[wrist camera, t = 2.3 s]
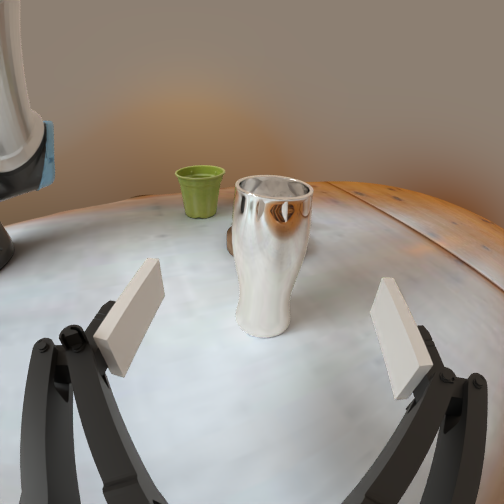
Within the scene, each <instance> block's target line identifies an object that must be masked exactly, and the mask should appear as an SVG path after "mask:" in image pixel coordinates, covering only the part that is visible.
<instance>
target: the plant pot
mask: <svg viewBox="0 0 504 504" xmlns="http://www.w3.org/2000/svg"><path fill="white" fill-rule="evenodd" d="M224 174H225V170H224V169H222V168H220V167H216V166H203V165H201V166H190V167H185V168H181V169H179V170H177V171H176V172H175V175H176V176H177V177H178V181H179V183H180V186H181V191H182V197H183V202H184V208H185V213H186V215H187V216H189V217H191V218H197V217H201V218H208V217H211V216H213V215H215V213H216V209H217V202H218V195H219V188H220V182H221V181H222V177H223V175H224Z"/></svg>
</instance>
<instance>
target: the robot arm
mask: <svg viewBox="0 0 504 504" xmlns="http://www.w3.org/2000/svg"><path fill="white" fill-rule="evenodd" d="M21 46H22V45H21V29H20V0H0V202H1V201H4V200H7V199H10V198H13V197H15V196H18V195H21V194H24V193H28V192H31V191H34V190H36V191H38V190H40V189H41V188H43V187H46V186H49V185H50V184H52V183H53V181H54V179H55V164H54V129H53V122H52V121H43V120H42V118H41V116H40V115H39V114H38V113H37V112H35V111H33V110H31V107H30V102H29V97H28V92H27V86H26V80H25V73H24V65H23V56H22V47H21ZM13 253H14V246H13V243H12V240H11V238H10V236H9V234H8V233H7V231H6V230H5V228H4V227H3V225H2V224H1V222H0V269H1V268H2V267H3V266H4V265H5V264H6V263H7V262H8V261H9V260H10V258H11V257H12V255H13ZM164 297H165V293H164V288H163V282H162V276H161V269H160V263H159V259H153V258H147V259H146V261H145V262H144V263H143V265H142V266H141V267H140V269H139V270H138V271H137V273H136V274H135V275H134V277H133V278H132V280H131V281H130V282H129V284H128V285H127V287H126V288H125V289H124V291H123V292H122V294H121V295H120V297H119V298H118V300H117V301H109V302H107V303H106V304H104V305H103V306H102V307H101V309H100V310H99V312H98V314H97V315H96V316H95V317H94V319H93V320H92V322H91V323H90V325H89V326H88V328H87V329H86V331H85V332H84V331H83V329H82V327H80V326H79V325H70V326H68V327H66V328H64V329H63V330H62V331H61V333H60V335H59V340H60V341H61V343H62V345H54V343H53V341H52V340H51V339H49V338H43V339H40V340H39V341H37V342H36V343H35V344H34V347H33V350H32V355H31V359H30V364H29V370H28V375H27V381H26V388H25V395H24V403H23V412H22V424H21V443H20V470H21V488H22V493H21V497H20V502H19V504H81V502H80V495H79V489H78V482H77V474H76V465H75V454H74V438H73V392H74V396H75V400H76V404H77V408H78V412H79V415H80V419H81V422H82V426H83V429H84V432H85V436H86V439H87V442H88V445H89V448H90V450H91V453H92V456H93V459H94V461H95V464H96V466H97V469H98V471H99V474H100V476H101V479H102V481H103V484H104V486H103V489H102V490H103V494H104V497H105V499H106V501H107V503H108V504H168V503H167V501H166V500H165V498H164V497H163V496H162V495H161V493H160V492H159V491H158V489H157V488H156V486H155V485H154V483H153V481H152V479H151V477H150V476H149V474H148V472H147V470H146V468H145V466H144V464H143V462H142V460H141V458H140V456H139V454H138V452H137V450H136V448H135V446H134V444H133V442H132V440H131V437H130V435H129V433H128V431H127V428H126V426H125V424H124V421H123V419H122V417H121V414H120V412H119V409H118V406H117V404H116V401H115V399H114V396H113V393H112V390H111V387H110V385H109V382H108V379H107V376H106V374H105V371H106V369H107V368H109V370H110V372H111V374H114V375H117V376H121V377H125V375H126V373H127V371H128V369H129V367H130V364H131V362H132V360H133V358H134V356H135V354H136V352H137V350H138V348H139V346H140V344H141V342H142V340H143V338H144V336H145V334H146V332H147V330H148V328H149V326H150V324H151V322H152V320H153V318H154V316H155V314H156V312H157V310H158V308H159V306H160V304H161V302H162V300H163V299H164ZM370 315H371V318H372V321H373V324H374V327H375V331H376V334H377V337H378V340H379V344H380V347H381V350H382V354H383V357H384V361H385V364H386V368H387V372H388V375H389V379H390V383H391V387H392V391H393V395H394V399H395V400H401V399H408V398H409V396H410V395H411V394H412V393H413V394H414V397H415V398H414V400H413V401H412V402H411V403H410V404H409V405H408V407H407V408H406V410H407V409H408V410H407V411H406V413H405V415H404V417H403V419H402V420H401V422H400V424H399V425H398V427H397V429H396V430H395V432H394V434H393V435H392V437H391V438H390V440H389V442H388V443H387V445H386V446H385V448H384V449H383V451H382V452H381V454H380V455H379V456H378V458H377V459H376V461H375V462H374V464H373V465H372V466H371V468H370V469H369V470H368V472H367V473H366V474H365V476H364V477H363V478H362V480H361V481H360V482H359V483H358V485H357V486H356V487H355V488H354V490H353V491H352V492H351V493H350V494H349V496H348V497H347V498H346V499H345V500H344V501H343V502H342V504H397V503H398V502H399V500H400V499H401V497H402V496H403V494H404V493H405V491H406V490H407V488H408V486H409V485H410V483H411V482H412V480H413V478H414V476H415V475H416V473H417V471H418V469H419V468H420V466H421V464H422V462H423V460H424V458H425V456H426V454H427V452H428V451H429V449H430V446H431V444H432V442H433V440H434V438H435V436H436V434H437V431H438V429H439V427H440V429H439V434H438V439H437V444H436V449H435V453H434V458H433V462H432V466H431V469H430V473H429V477H428V480H427V483H426V487H425V490H424V493H423V496H422V499H421V502H420V504H475V502H476V498H477V494H478V489H479V485H480V479H481V474H482V468H483V461H484V453H485V444H486V432H487V409H488V393H487V382H486V380H485V378H484V377H483V376H482V375H480V374H478V373H473V374H471V375H470V376H469V378H468V379H464V378H459V377H456V375H455V374H454V372H453V371H452V370H451V369H449V368H446V367H444V365H443V363H442V360H441V358H440V356H439V353H438V351H437V349H436V347H435V344H434V342H433V341H432V338H431V335H430V333H429V332H428V331H427V329H426V328H425V327H424V326H423V325H422V326H417V325H416V323H415V321H414V319H413V316H412V314H411V312H410V310H409V308H408V306H407V304H406V302H405V300H404V298H403V296H402V294H401V292H400V290H399V288H398V286H397V284H396V282H395V280H394V278H388V277H382V279H381V282H380V285H379V288H378V291H377V294H376V297H375V299H374V302H373V305H372V308H371V310H370Z"/></svg>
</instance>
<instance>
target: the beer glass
mask: <svg viewBox="0 0 504 504" xmlns="http://www.w3.org/2000/svg"><path fill="white" fill-rule="evenodd" d="M312 199H313V188H312V187H311V186H310V185H308V184H307V183H305V182H303V181H300V180H297V179H293V178H289V177H283V176H274V175H256V176H249V177H245V178H242V179H240V180H238V181H237V182H236V184H235V197H234V205H233V215H232V246H233V254H234V261H235V266H236V271H237V276H238V282H239V292H240V294H239V301H238V305H237V309H236V313H235V319H236V323H237V325H238V326H239V328H240V329H241V330H242V331H244V332H245V333H247V334H249V335H251V336H255V337H260V338H269V337H274V336H277V335H279V334H281V333H283V332H284V331H285V330H286V329H287V328H288V326H289V324H290V297H291V293H292V290H293V287H294V284H295V282H296V279H297V277H298V274H299V272H300V269H301V266H302V264H303V261H304V257H305V254H306V251H307V246H308V241H309V236H310V228H311V218H312Z"/></svg>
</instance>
